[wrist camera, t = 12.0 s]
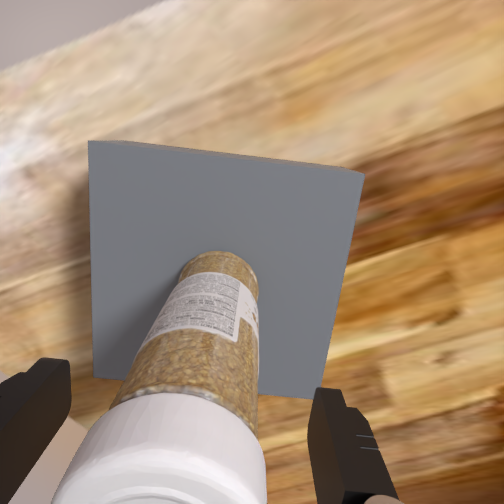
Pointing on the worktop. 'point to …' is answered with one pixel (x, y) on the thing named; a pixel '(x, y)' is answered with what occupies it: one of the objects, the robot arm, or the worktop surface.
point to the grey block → (219, 248)
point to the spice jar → (184, 402)
